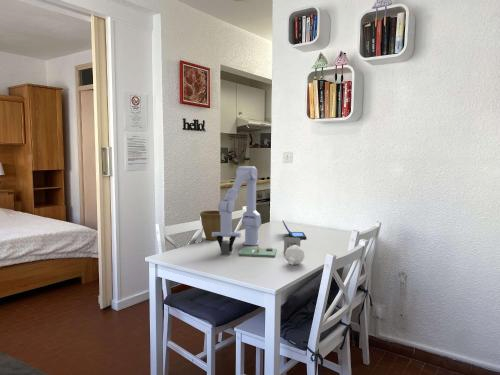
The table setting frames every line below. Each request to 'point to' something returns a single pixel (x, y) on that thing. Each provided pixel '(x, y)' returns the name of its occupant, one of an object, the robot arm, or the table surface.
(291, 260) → the perfume bottle
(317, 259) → the table surface
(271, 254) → the pcb
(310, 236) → the table surface
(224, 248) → the plug
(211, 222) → the plant pot
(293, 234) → the handheld game console
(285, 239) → the electrical switch
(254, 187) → the robot arm
